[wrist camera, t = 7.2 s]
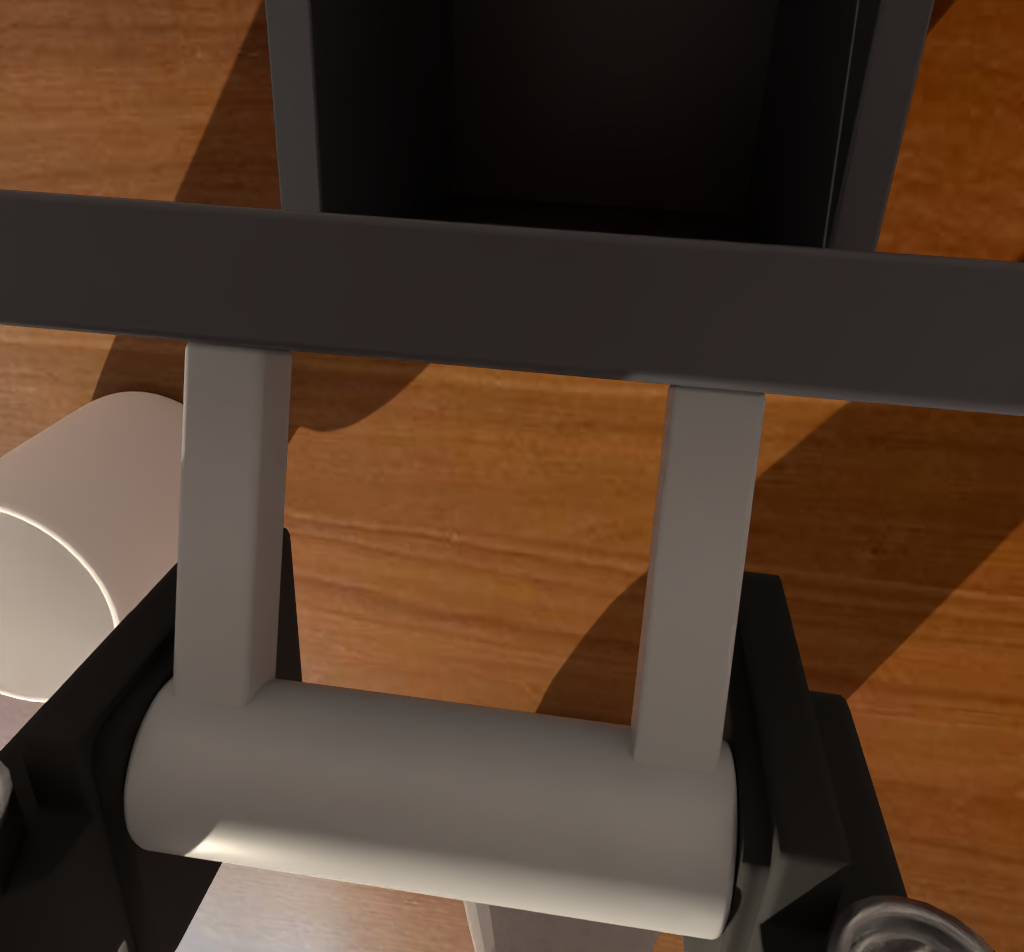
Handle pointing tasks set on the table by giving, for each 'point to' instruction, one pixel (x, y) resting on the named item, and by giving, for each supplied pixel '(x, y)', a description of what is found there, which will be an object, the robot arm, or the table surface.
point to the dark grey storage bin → (599, 113)
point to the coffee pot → (549, 932)
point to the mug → (84, 533)
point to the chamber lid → (497, 345)
